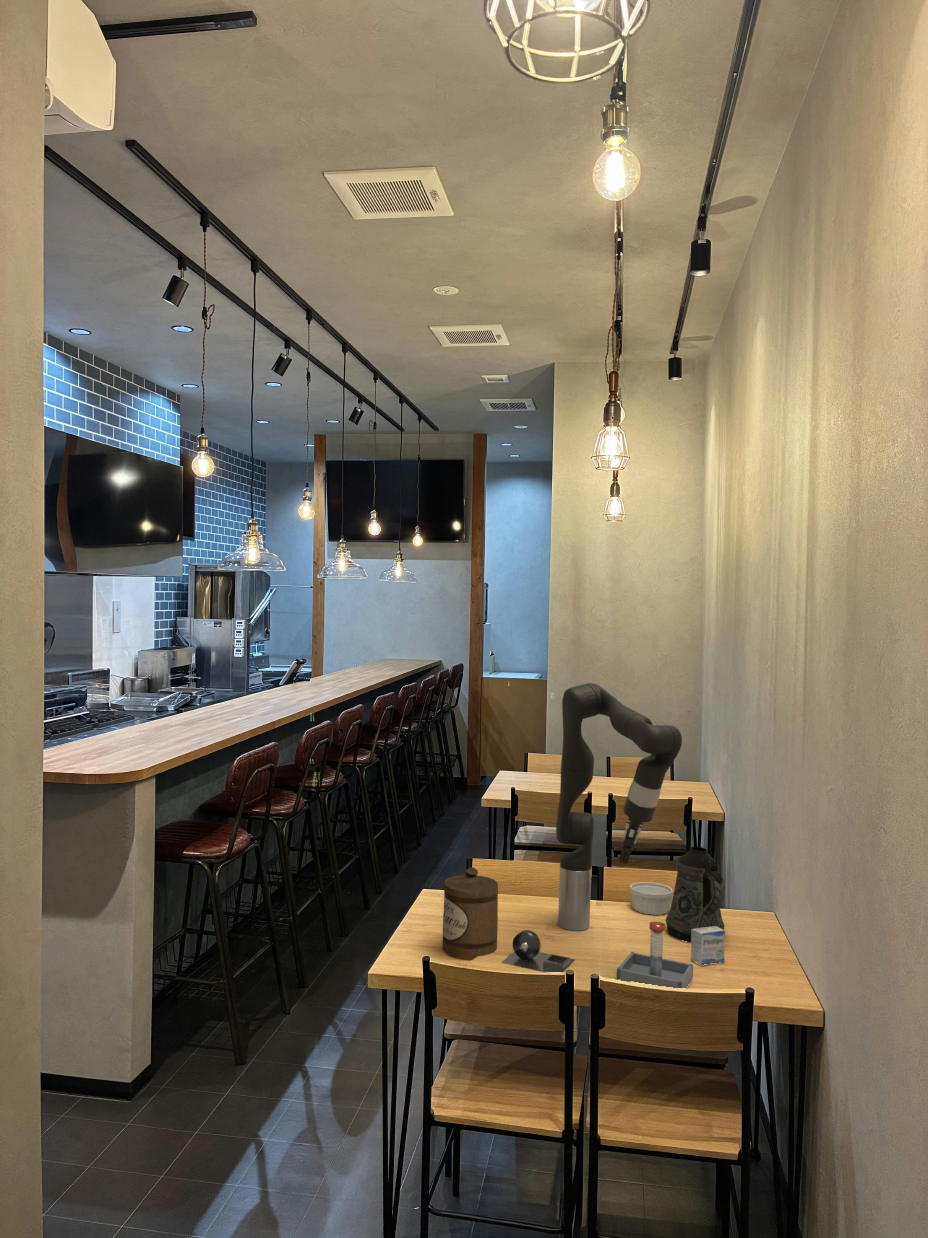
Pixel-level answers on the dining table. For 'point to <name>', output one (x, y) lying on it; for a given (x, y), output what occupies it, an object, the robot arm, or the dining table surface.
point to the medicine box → (707, 945)
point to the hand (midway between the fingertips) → (625, 855)
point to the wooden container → (470, 915)
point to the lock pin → (656, 948)
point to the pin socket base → (535, 955)
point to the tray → (639, 969)
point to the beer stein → (695, 894)
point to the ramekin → (651, 898)
